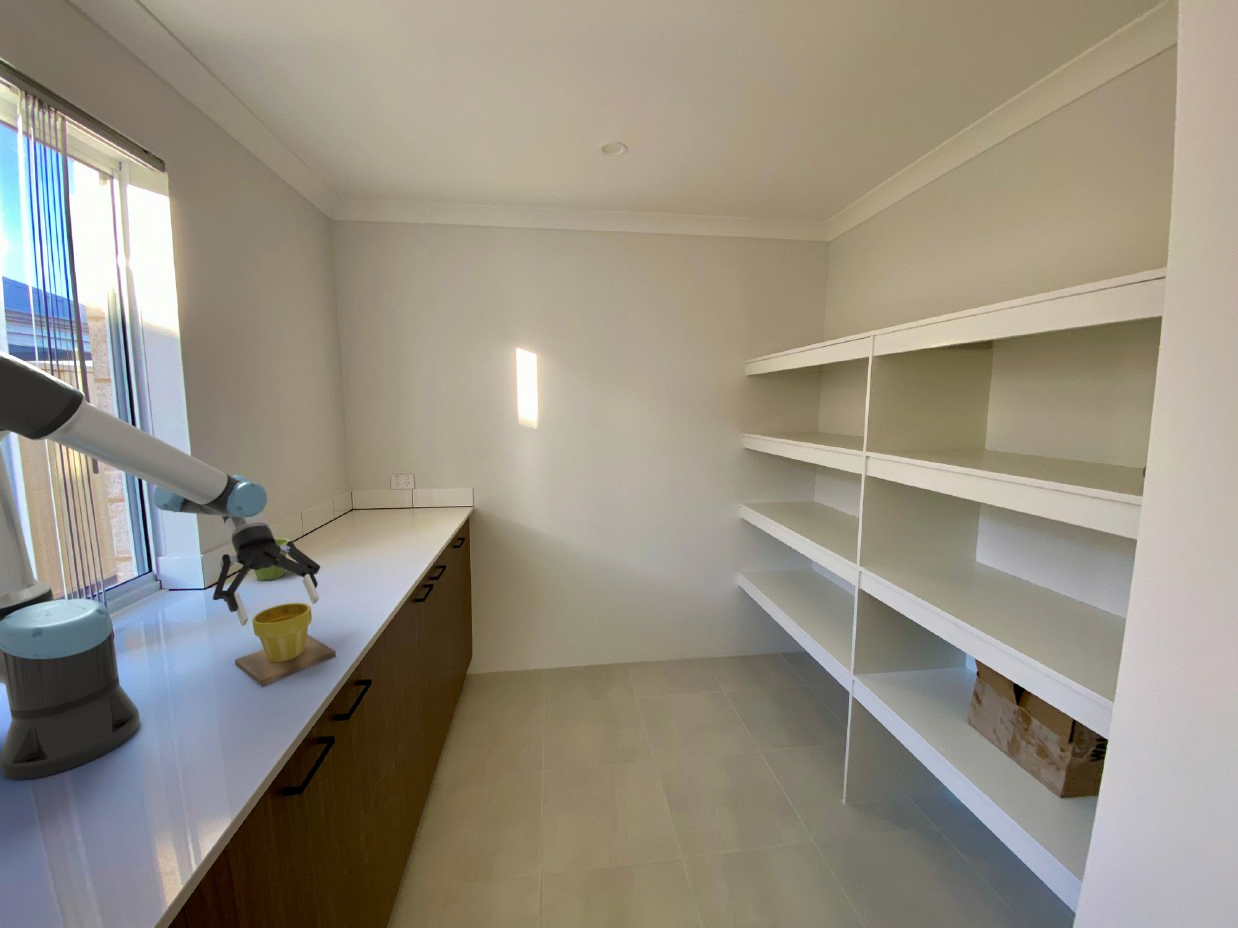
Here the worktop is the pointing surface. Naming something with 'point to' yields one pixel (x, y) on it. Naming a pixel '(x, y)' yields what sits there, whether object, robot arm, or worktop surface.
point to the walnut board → (272, 671)
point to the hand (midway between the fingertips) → (282, 611)
